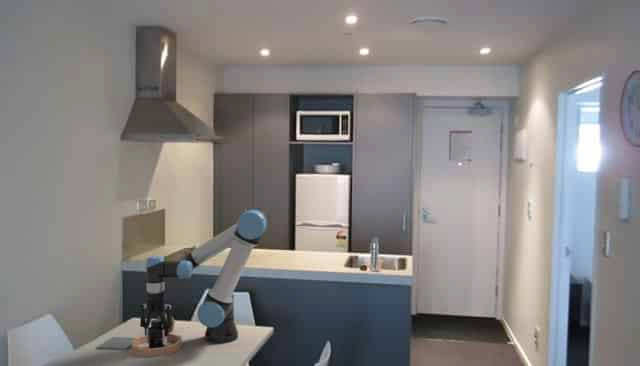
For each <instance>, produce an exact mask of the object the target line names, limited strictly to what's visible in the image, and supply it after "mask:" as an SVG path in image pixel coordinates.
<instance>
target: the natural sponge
mask: <svg viewBox="0 0 640 366" xmlns="http://www.w3.org/2000/svg"><path fill="white" fill-rule="evenodd" d="M164 314H165V317H166V319H167V315H166V313H164ZM156 319H161V318H160V316H159V315H158V317H157V318H156ZM172 322H173V326H172V327H171V328H169V333H172V332H173V331H174V329H175V323H176V322H175V319H174V317H173V316H172ZM162 326H163V324H162Z"/></svg>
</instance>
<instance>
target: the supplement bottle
mask: <svg viewBox="0 0 640 366" xmlns="http://www.w3.org/2000/svg"><path fill="white" fill-rule="evenodd" d="M149 327H150V328H149V344H148V348H150V349H153V348H161V347H166V344H163V334H162V330H163V329H164V327H163V326H162V321H161V319H157V318H155V319H151V322H150V326H149Z"/></svg>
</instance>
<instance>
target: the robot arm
mask: <svg viewBox="0 0 640 366" xmlns="http://www.w3.org/2000/svg"><path fill="white" fill-rule="evenodd" d="M270 220H271V219H270V215H269V214H268V213H267V211H265V210H264V209H262V208H260V207H253V208H251V209H249V210H247V211H244V212H243V213H242V214H241V215H240V216H239V218H238V220H237V223H235V224H233V225H232V226H230V227H228V228H227V229H225V230H224V231H222V232H220V233H219V234H217V235H216V236H214V237H212V238H210V239H209V240H207V241H206V242H204V243H202V244H201V245H199V246H197V247H196V248H194V249H192V250H191V251H190V252H188V253H187V254H184V255H182V256H181V257H180V258H178V259H176V260H165V257H164V256H163V255H150V256H148V257H147V258H146V265H145V266H146V267H145V269H146V270H145V271H146V300H147V301H146V303H142V304H140V309H141V313H140V322H139V323H140V324H139V327H141V328H143V329H144V336H146V337H147V342H146V344H147V345H149V328H150V327H151V321H152V320H153V319H152V318H153V316H154V314H155V313H156V314H158V317H159V316H160V318H161V321H162V324H163V327H164V329H163V330H162V334H163V344H165V345H166V344H167V343H168V340H167V336H168V335H169V328H171V327H172V326H173V322H172V317H173V316H172V315H173V314H172V304H167V302H166V295H165V294H166V292H165V289H166V288H165V285H166V284H165V279H182V280H183V279H190V278H191V277H192V274H193V270H194V269H196V268H198V267H199V266H201V265H202V264H204V263H206V262H207V261H209V260H211V259H212V258H214V257H216V256H217V255H220V253H223V252H224V251H225V250H227V249H229V248H230V247H231V248H230V249H229V252H228V255H227V257H226V259H225V261H224V263H223V265H222V268H221V270H220V272H219V275H218V277H217V278H216V282H214V286H213V287H212V288H210V289H208V291H207V293H206V295H205V297H204V299H203V302H202V303H201V304H200V305H199V306H198V309H197V314H196V315H197V319H198V321H199V322H200V323H201V324H202V325H203V326H205V327H206V329H205V333H204V340H205V342H208V343H212V344H226V343H231V342H233V341H236V340H237V339H238V338H239V332H238V329H237V325H236V323H235V310H234V309H235V308H234V307H235V305H234V304H235V303H234V302H235V301H234V297H235V295H234V291H235V289H236V287H237V285H238V282H239V280H240V278H241V276H242V274H243V271H244V269H245V268H246V264H247V262H248V261H249V258H250V255H251V253H252V252H253V250H254V249H253V248H254V247H257V246H259V245H260V242H261V240H262V238H263V235H264V234H265V231H267V230H268V228H269V226H270ZM147 308H148V312H147ZM164 309H165V310H164ZM165 314H166V315H167V319H166V317H165Z"/></svg>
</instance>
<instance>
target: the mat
mask: <svg viewBox="0 0 640 366" xmlns="http://www.w3.org/2000/svg"><path fill="white" fill-rule="evenodd" d="M136 338H137V337H123V336H122V337H121V336H112V337H111V338H109V339H107V340H106V341H104V342H102V343H101V344H99V345H98V346H96V347H95V349H96V350H98V349H100V350H116V351H128V349H130V348H132V344H131V342H132V341H133V340H135V339H136Z"/></svg>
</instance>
